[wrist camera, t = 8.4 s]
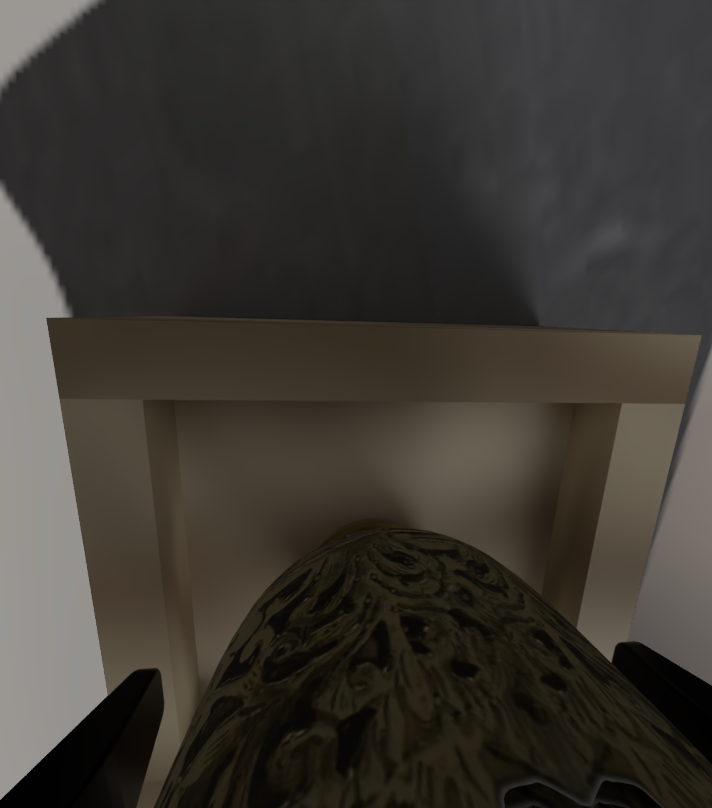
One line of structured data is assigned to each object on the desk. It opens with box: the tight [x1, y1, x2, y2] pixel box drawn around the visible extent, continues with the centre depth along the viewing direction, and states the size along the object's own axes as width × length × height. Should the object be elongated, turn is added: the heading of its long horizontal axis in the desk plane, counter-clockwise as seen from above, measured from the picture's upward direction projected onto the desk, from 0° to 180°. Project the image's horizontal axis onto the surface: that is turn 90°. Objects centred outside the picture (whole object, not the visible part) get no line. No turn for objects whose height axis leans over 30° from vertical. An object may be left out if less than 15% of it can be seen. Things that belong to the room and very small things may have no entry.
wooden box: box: [47, 316, 702, 808], centre depth 12 cm, size 13×13×6 cm
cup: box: [154, 518, 712, 808], centre depth 6 cm, size 8×7×8 cm
